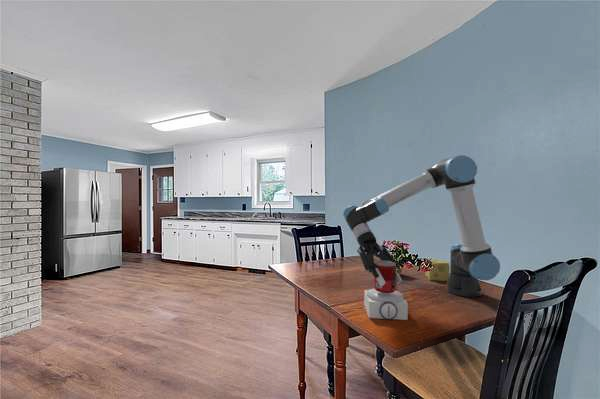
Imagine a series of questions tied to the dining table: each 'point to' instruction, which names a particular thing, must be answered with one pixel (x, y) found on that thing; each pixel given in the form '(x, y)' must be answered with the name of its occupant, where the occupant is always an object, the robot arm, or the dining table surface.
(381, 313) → the kitchen scale
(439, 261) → the cheese
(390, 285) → the canned food
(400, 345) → the dining table surface
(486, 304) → the dining table surface
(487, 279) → the robot arm
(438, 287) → the dining table surface
